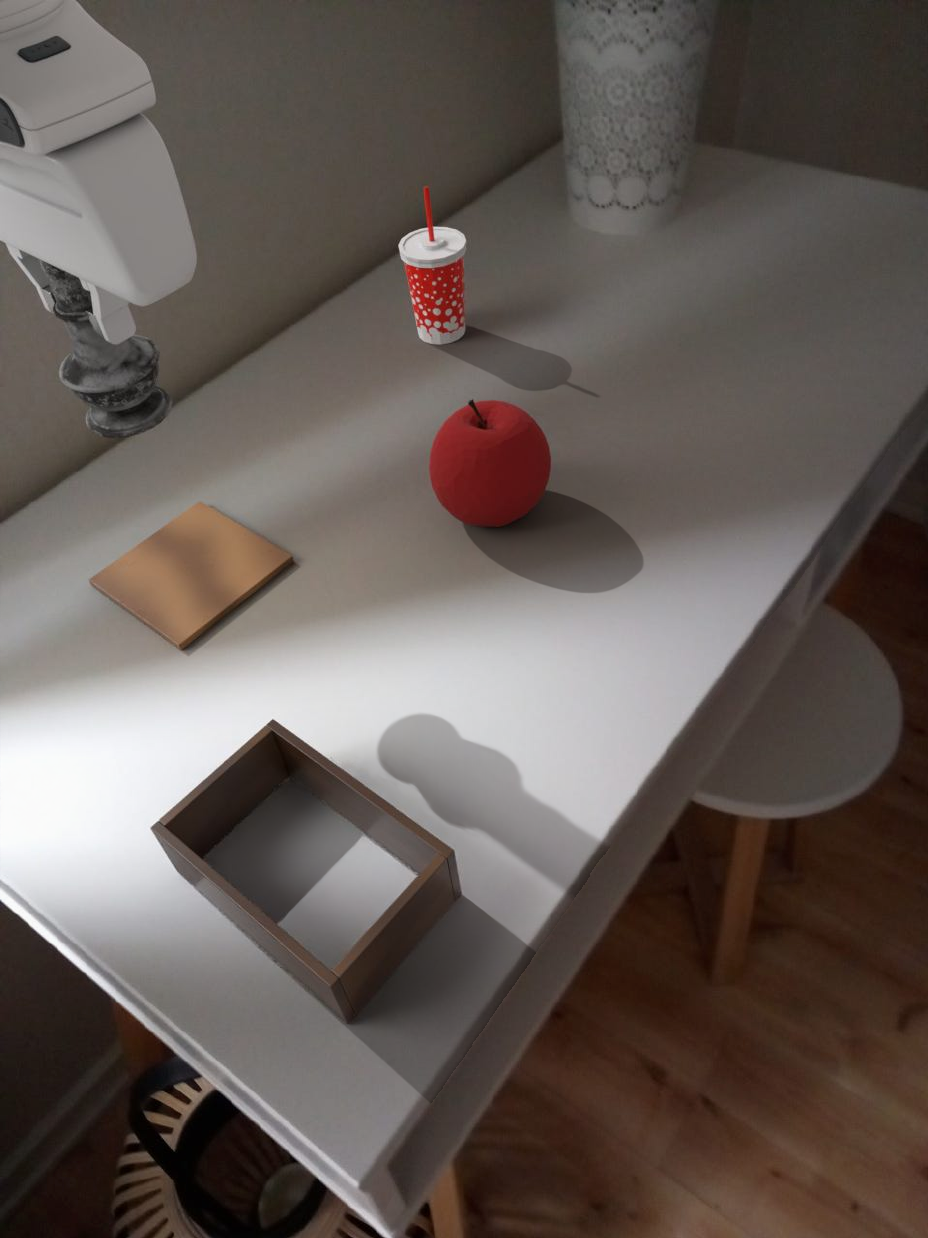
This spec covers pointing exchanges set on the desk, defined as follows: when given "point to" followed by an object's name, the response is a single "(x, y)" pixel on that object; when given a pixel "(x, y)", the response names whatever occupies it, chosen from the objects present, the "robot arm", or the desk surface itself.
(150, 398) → the grey stone turned piece
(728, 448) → the desk surface
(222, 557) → the trivet
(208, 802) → the open wooden box
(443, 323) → the beverage cup
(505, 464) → the apple
